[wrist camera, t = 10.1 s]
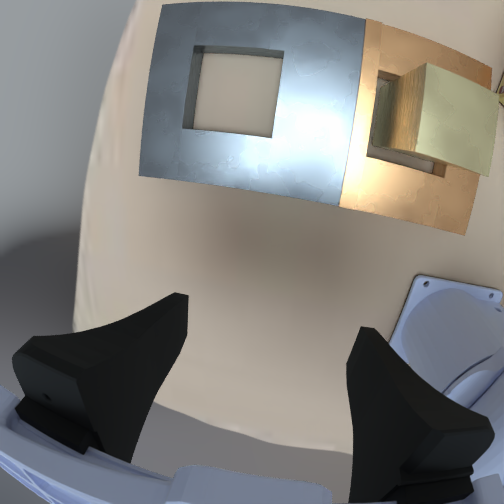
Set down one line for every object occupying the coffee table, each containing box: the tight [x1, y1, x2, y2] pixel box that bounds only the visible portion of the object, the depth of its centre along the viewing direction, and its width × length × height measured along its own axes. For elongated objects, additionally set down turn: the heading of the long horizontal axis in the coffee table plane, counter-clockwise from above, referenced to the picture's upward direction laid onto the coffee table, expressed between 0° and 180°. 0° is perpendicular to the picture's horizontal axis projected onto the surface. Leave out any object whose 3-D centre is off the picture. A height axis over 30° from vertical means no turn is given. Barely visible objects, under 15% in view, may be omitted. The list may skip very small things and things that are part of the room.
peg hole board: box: [139, 2, 492, 236], centre depth 17 cm, size 22×12×2 cm, turn 83°
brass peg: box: [372, 63, 499, 177], centre depth 14 cm, size 4×4×8 cm
